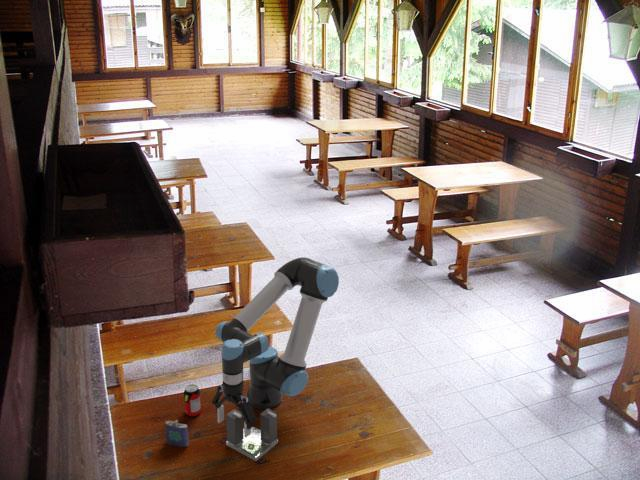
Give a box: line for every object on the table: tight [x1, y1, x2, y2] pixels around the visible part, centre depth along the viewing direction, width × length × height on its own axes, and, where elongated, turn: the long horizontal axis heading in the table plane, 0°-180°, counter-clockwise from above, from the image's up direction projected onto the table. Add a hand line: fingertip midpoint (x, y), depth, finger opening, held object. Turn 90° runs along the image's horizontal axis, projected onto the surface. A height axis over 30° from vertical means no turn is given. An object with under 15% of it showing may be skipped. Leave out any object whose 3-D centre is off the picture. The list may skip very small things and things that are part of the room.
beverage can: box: [183, 384, 202, 417], centre depth 260 cm, size 6×6×12 cm
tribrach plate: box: [225, 425, 279, 462], centre depth 244 cm, size 16×14×3 cm
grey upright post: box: [225, 408, 244, 445], centre depth 241 cm, size 6×4×13 cm
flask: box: [164, 419, 190, 448], centre depth 242 cm, size 9×3×11 cm, turn 74°
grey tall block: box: [259, 408, 278, 445], centre depth 242 cm, size 6×4×13 cm
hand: (234, 428), depth 242 cm, fingers open, 13 cm apart
